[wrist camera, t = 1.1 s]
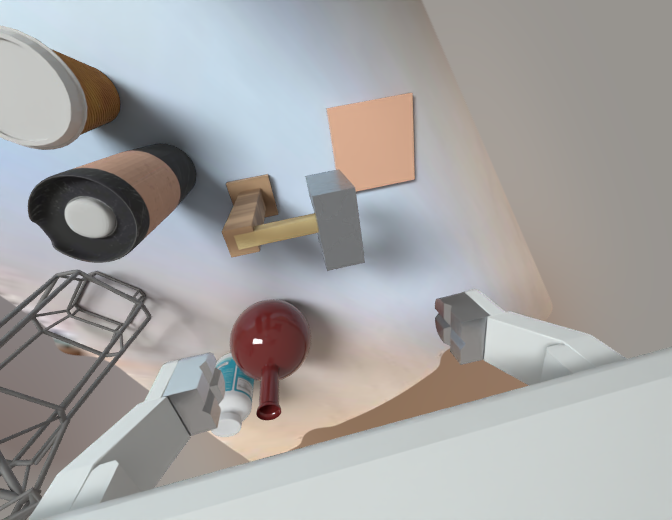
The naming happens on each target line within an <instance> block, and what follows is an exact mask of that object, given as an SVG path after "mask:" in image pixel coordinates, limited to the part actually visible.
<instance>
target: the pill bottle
mask: <svg viewBox="0 0 672 520" xmlns="http://www.w3.org/2000/svg"><path fill="white" fill-rule="evenodd" d="M216 368H217V369H219V370H221V372H222V374H223V376H224V381H225V395H224V399H223V400H222V401H221V402H220V404H219V406H220V408H221V414H220V418H219V423H218V427H217V428H216V429H213V430H211V431H212V433H213V434H214V435H216V436H220V437H229V436H233V435H235V434H237V433H238V432H239V431H240V429H241V425H242V421H243V420H245V419H246V418H247V417H248V415H249V414H250V412H251V407H252V396H253V384H254V379H252V378H250V377H248V376H247V375H245V374H244V373H243V372H242V371H241V370H240V369H239V368H238V367H237V365H236V364H235V362H234V360H233V358H232V355H231V353H228V354H225V355H224V356H222V357H221V358H220V359H219V360H218V362H217V364H216Z"/></svg>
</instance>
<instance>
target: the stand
mask: <svg viewBox="0 0 672 520" xmlns="http://www.w3.org/2000/svg"><path fill="white" fill-rule="evenodd" d="M226 186H227V189H228V192H229V194H230V197H231V200H232V203H233V208H232V210H231V212H230V214H229V217H228V219H227V221H226V223H225V225H224V228H223V230H222V234H223V237H224V239H225V242H226V244H227V247H228V250H229V252H230V255H231V257H236V256H241V255H245V254H250V253H255V252H259V251H260V246H261V245H263V244H267V243H272V242H277V241H281V240H286V239H291V238H295V237H300V236H305V235H309V234H314V233H318V227H317V223H316V218H315V213H314V214H309V215H304V216H300V217H295V218H290V219H285V220H281V221H276V222H271V223H267V224H264V218H265V217H269V216H274V215H278V209H277V206H276V202H275V198H274V195H273V191H272V187H271V184H270V180H269V176H268V174H266V175H261V176H256V177H251V178H246V179H241V180H236V181H231V182H227V183H226Z"/></svg>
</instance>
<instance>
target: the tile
mask: <svg viewBox="0 0 672 520" xmlns="http://www.w3.org/2000/svg"><path fill="white" fill-rule="evenodd" d="M326 110H327V116H328V122H329V129H330V135H331V142H332V148H333V154H334V161H335V167H336V170H338V169H339V170H340V171H341V172H342V173H343V174H344V175H345V176H346V177H347V179H348V180H349V181H350V182H351V183H352V184H353V185H354V187H355V190H356V191H361V190H366V189H371V188H376V187H380V186H385V185H390V184H395V183H400V182H405V181H409V180H414V179H415V175H414V136H413V96H412V93H407V94H401V95H396V96H391V97H385V98H380V99H375V100H369V101H364V102H358V103H353V104H348V105H342V106H337V107H332V108H326Z"/></svg>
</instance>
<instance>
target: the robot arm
mask: <svg viewBox="0 0 672 520" xmlns="http://www.w3.org/2000/svg"><path fill="white" fill-rule="evenodd" d="M435 309H436V310H437V311H438V312H439V313H438V315H437V316H436V318H435V323H436V329H437V332H438V334H439V336H440V338H441V340H442V341H443V342H444V343H445V344H448V345H450V352H451V353H452V354H453V356H454V357H455V358H456V360H457V361H458V362H459V363H460V364H466V363H470V362H474V361H479V360H483V359H484V361H486V362H488V363H489V364H491V365H493V366H495V367H497V368H499V369H500V370H502V371H504V372H506V373H508V374H510V375H511V376H513V377H515V378H517V379H519V380H520V381H522V382H524V383H526V384H528V385H529V386H526V387H523V388H519V389H516V390H512V391H508V392H505V393H501V394H497V395H494V396H490V397H487V398H483V399H479V400H475V401H472V402H468V403H465V404H461V405H457V406H453V407H450V408H446V409H442V410H439V411H435V412H431V413H428V414H424V415H420V416H417V417H413V418H409V419H406V420H402V421H398V422H395V423H391V424H387V425H384V426H380V427H376V428H372V429H369V430H365V431H362V432H358V433H354V434H351V435H347V436H343V437H340V438H336V439H332V440H329V441H325V442H321V443H318V444H314V445H310V446H307V447H304V448H299V449H296V450H292V451H288V452H285V453H281V454H277V455H274V456H270V457H266V458H263V459H259V460H255V461H252V462H248V463H244V464H241V465H237V466H234V467H230V468H226V469H222V470H219V471H215V472H211V473H208V474H204V475H200V476H197V477H193V478H190V479H186V480H182V481H179V482H175V483H172V484H168V485H164V486H160V487H157V488H154V487H155V486H156V485H157V483H158V482H159V480H160V479H161V477H162V476H163V475H164V473H165V472H166V471H167V469H168V468H169V467H170V465H171V464H172V462H173V461H174V460H175V458H176V457H177V455H178V454H179V453H180V451H181V450H182V449H183V447H184V446H185V445H186V443H187V442H188V440H189V439H190V436H192V435H195V434H199V433H202V432H206V431H209V430H213V429H216V428H217V427H218V423H219V418H220V414H221V408H220V406H219V404H220V402H221V401H222V400H223V399H224V395H225V381H224V376H223V374H222V372H221V370H219V369H217V368H215V366H216V362H217V361H216V359H215V357H214V355H213V354H212V353H206V354H202V355H197V356H193V357H188V358H183V359H180V360H175V361H171V362H167V363H165V364H164V365H163V366H162V368H161V370H160V372H159V374H158V375H157V377H156V379H155V381H154V383H153V385H152V387H151V389H150V391H149V393H148V395H147V397H146V399H145V401H144V402H143V403H139V404H138V405H137V406H135V407H134V408H133V409H132V410H131V411H130V412H128V413H127V414H126V415H125V416H124V417H123V418H122V419H120V420H119V421H118V422H117V423H116V424H115V425H114V426H113V427H111V428H110V429H109V430H108V431H107V432H106V433H104V434H103V435H102V436H101V437H100V438H99V439H97V440H96V441H95V442H94V443H93V444H92V445H91V446H89V447H88V448H87V449H86V450H85V451H84V452H83V453H81V454H80V455H79V456H78V457H77V458H76V459H74V460H73V461H72V462H71V463H70V464H69V465H68V466H66V467H65V468H64V469H63V470H62V471H61V472H60V473H58V475H57V476H56V478H55V479H54V481H53V482H52V484H51V485H50V487H49V488H48V490H47V491H46V493H45V495H44V496H43V498H42V499H41V501H40V502H39V504H38V505H37V507H36V508H35V510H34V511H33V513H32V514H31V516H30V518H29V519H28V520H672V347H669V348H666V349H662V350H658V351H655V352H651V353H647V354H644V355H640V356H636V357H633V358H629V359H626V358H625V357H623V356H622V355H620V354H619V353H618V352H616V351H614V350H613V349H611V348H610V347H609V346H607V345H606V344H604V343H603V342H601V341H600V340H598V339H597V338H595V337H594V336H592V335H590V334H587V333H583V332H580V331H576V330H573V329H569V328H566V327H563V326H559V325H556V324H552V323H549V322H545V321H542V320H538V319H535V318H531V317H528V316H525V315H521V314H518V313H514V312H511V311H509V312H505V311H504V310H503V309H501V308H500V307H499V306H498V305H496V304H495V303H494V302H493V301H491V300H490V299H489V298H488V297H486V296H485V295H484V294H483V293H482V292H480V291H479V290H477V289H472V290H468V291H464V292H462V293H458V294H454V295H450V296H446V297H442V298H438V299H436V301H435Z"/></svg>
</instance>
